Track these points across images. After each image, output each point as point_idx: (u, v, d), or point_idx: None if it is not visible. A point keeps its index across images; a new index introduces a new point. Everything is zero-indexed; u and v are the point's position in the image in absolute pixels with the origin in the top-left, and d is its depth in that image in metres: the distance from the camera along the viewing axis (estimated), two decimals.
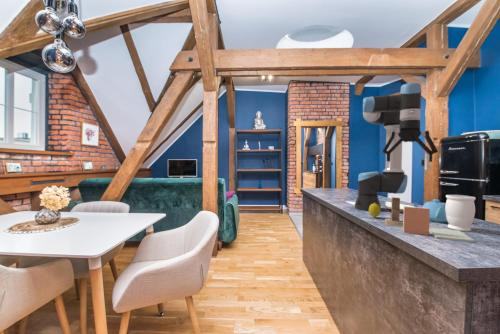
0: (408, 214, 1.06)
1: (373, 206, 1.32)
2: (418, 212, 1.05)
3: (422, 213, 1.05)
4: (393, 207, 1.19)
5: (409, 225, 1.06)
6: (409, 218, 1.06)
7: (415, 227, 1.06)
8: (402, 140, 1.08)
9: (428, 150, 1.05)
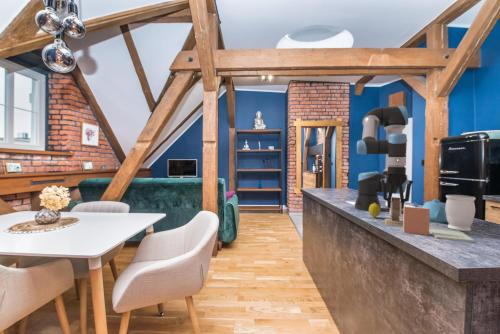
0: (408, 214, 1.06)
1: (373, 206, 1.32)
2: (418, 212, 1.05)
3: (422, 213, 1.05)
4: (393, 207, 1.19)
5: (409, 225, 1.06)
6: (409, 218, 1.06)
7: (415, 227, 1.06)
8: (393, 185, 1.18)
9: (402, 198, 1.17)
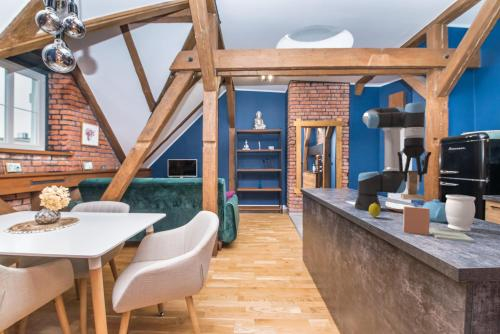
0: (408, 214, 1.06)
1: (373, 206, 1.32)
2: (418, 212, 1.05)
3: (422, 213, 1.05)
4: (410, 180, 1.13)
5: (409, 225, 1.06)
6: (409, 218, 1.06)
7: (415, 227, 1.06)
8: (410, 157, 1.13)
9: (420, 170, 1.12)
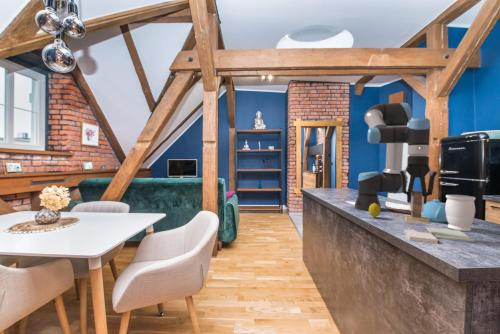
0: None
1: (373, 206, 1.32)
2: None
3: None
4: (414, 201, 1.05)
5: None
6: None
7: None
8: (414, 177, 1.05)
9: (424, 191, 1.04)
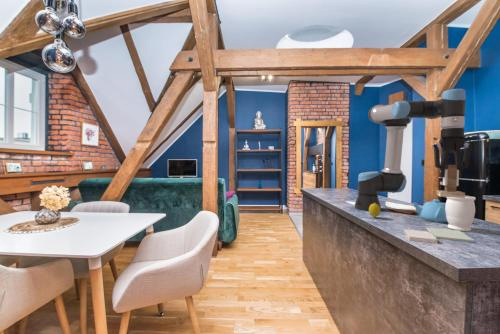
0: None
1: (373, 206, 1.32)
2: None
3: None
4: (448, 175, 1.02)
5: None
6: None
7: None
8: (449, 150, 1.02)
9: (459, 165, 1.01)
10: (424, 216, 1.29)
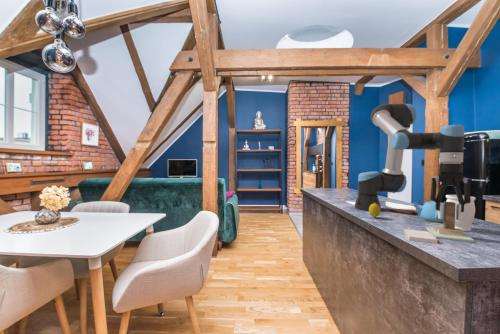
0: None
1: (373, 206, 1.32)
2: None
3: None
4: (447, 213, 1.03)
5: None
6: None
7: None
8: (446, 185, 1.02)
9: (461, 199, 1.01)
10: (424, 216, 1.29)
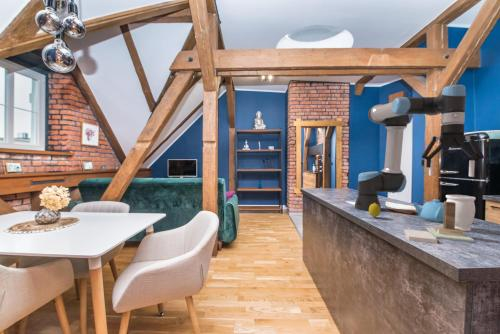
0: None
1: (373, 206, 1.32)
2: None
3: None
4: (447, 213, 1.03)
5: None
6: None
7: None
8: (444, 145, 1.02)
9: (473, 156, 0.99)
10: (424, 216, 1.29)
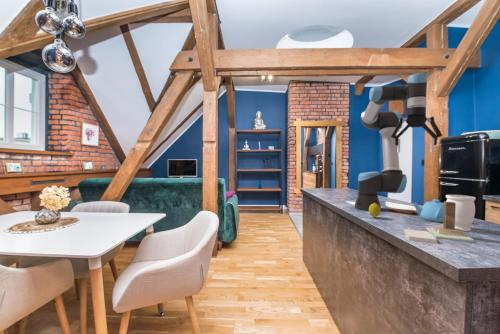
0: None
1: (373, 206, 1.32)
2: None
3: None
4: (447, 213, 1.03)
5: None
6: None
7: None
8: (409, 125, 1.18)
9: (433, 134, 1.15)
10: (424, 216, 1.29)
